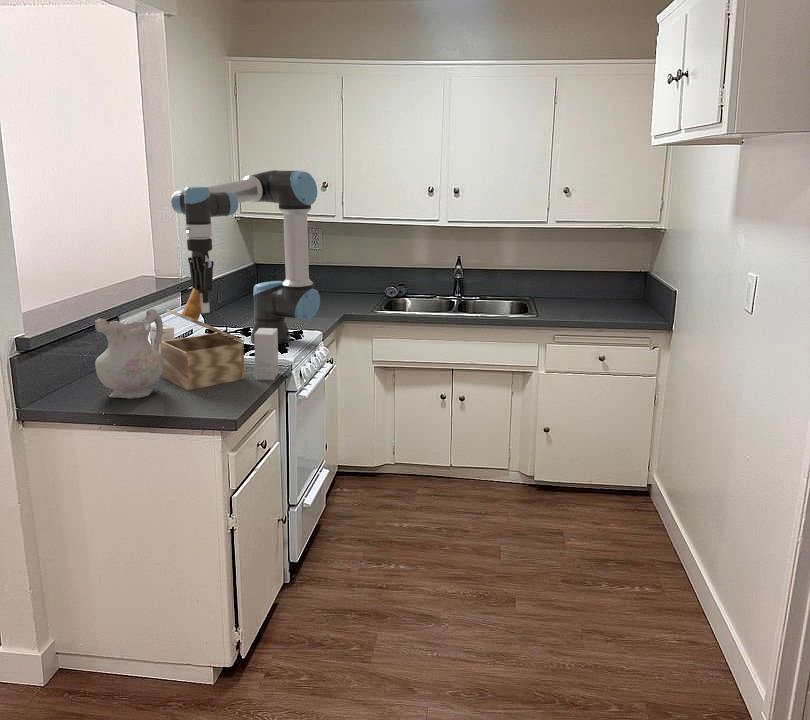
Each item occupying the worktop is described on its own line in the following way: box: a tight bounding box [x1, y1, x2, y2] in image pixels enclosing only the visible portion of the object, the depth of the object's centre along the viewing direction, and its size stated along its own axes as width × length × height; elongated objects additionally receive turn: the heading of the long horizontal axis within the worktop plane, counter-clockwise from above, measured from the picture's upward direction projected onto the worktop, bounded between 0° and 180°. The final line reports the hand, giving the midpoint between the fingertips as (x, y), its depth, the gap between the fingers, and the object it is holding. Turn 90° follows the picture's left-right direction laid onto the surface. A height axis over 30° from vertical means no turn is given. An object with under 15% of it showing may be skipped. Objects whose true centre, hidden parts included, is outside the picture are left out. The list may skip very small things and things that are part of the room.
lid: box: [165, 287, 245, 344], centre depth 244 cm, size 20×18×10 cm
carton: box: [160, 332, 246, 391], centre depth 246 cm, size 20×18×12 cm
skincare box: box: [253, 328, 279, 381], centre depth 247 cm, size 8×7×16 cm
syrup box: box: [149, 324, 175, 354], centre depth 256 cm, size 6×6×14 cm
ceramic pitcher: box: [94, 308, 164, 400], centre depth 229 cm, size 22×20×25 cm
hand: (203, 311), depth 242 cm, fingers closed on lid, 2 cm apart
